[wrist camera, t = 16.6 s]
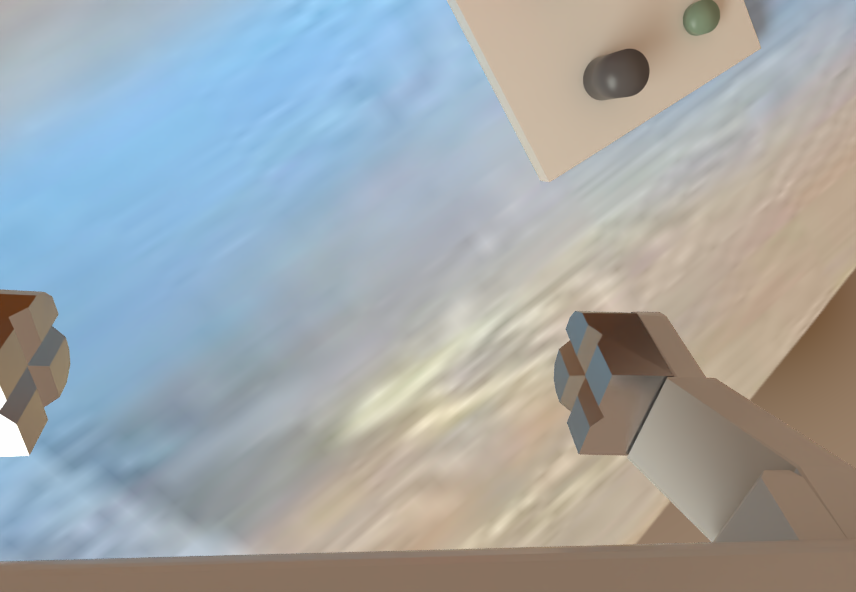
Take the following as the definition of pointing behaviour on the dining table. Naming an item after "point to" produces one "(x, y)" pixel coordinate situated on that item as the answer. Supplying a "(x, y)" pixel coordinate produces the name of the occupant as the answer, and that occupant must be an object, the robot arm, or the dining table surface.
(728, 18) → the breaker board
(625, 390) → the robot arm
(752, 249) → the dining table surface
